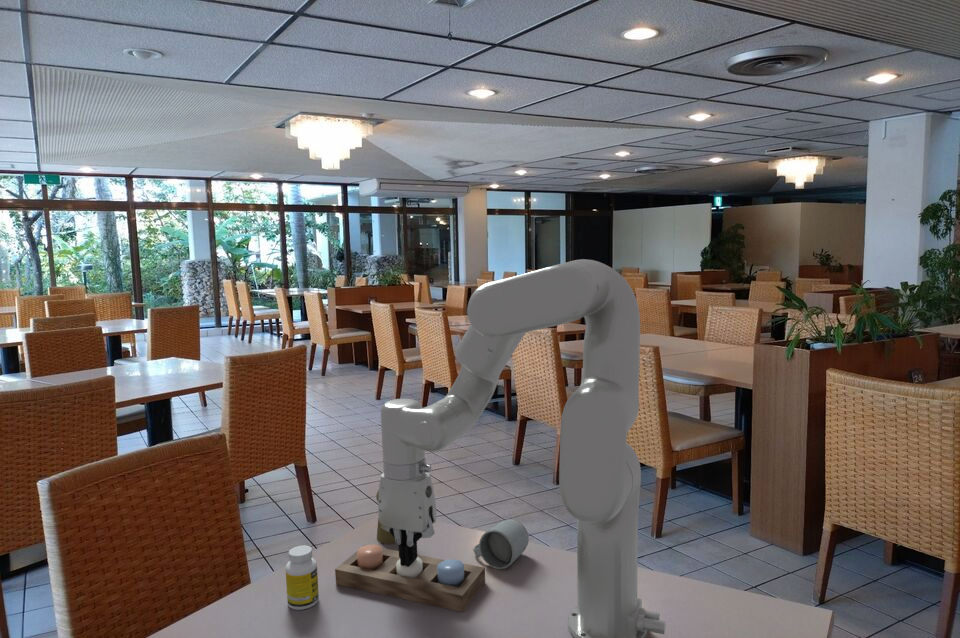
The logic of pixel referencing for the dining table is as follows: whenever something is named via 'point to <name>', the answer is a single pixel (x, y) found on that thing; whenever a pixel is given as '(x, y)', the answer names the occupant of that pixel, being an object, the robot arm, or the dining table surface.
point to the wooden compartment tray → (412, 581)
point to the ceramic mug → (502, 544)
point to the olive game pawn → (384, 532)
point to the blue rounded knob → (450, 572)
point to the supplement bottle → (301, 578)
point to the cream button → (410, 569)
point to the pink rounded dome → (370, 556)
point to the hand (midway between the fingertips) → (408, 562)
